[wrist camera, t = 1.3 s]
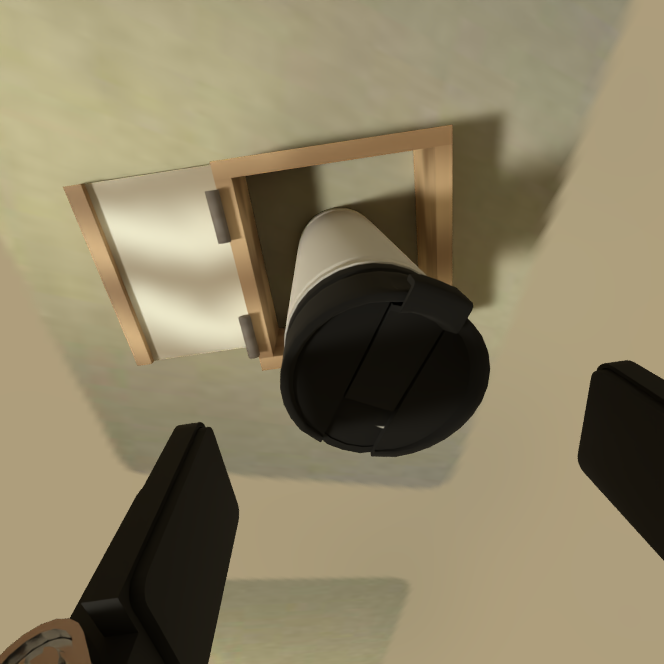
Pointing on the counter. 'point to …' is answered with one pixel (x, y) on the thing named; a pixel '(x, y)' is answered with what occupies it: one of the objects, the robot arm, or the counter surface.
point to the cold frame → (228, 244)
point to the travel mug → (376, 344)
